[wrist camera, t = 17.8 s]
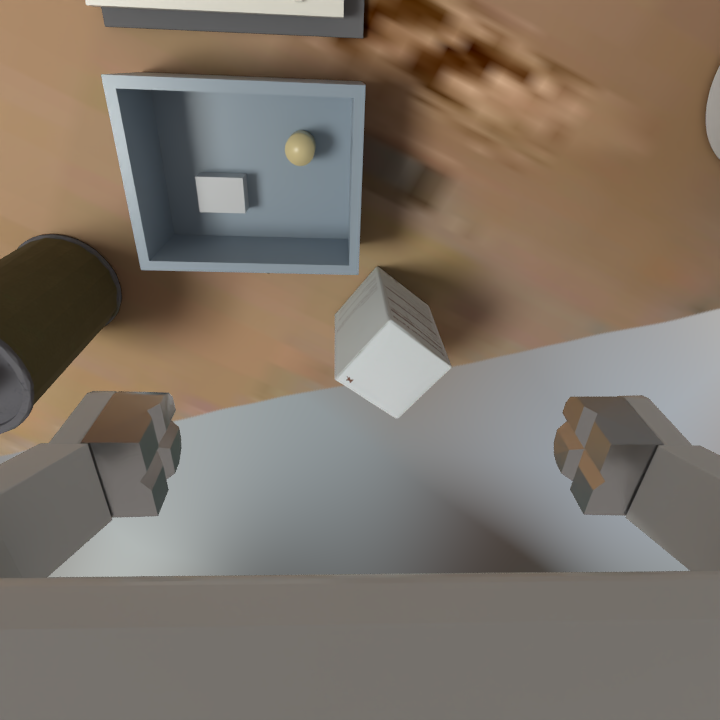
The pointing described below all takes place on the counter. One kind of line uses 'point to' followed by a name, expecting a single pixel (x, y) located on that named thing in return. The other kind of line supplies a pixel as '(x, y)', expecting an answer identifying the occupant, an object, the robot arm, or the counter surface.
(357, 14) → the mat
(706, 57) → the counter surface
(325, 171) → the grey storage box
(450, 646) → the robot arm
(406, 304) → the supplement box
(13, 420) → the canister
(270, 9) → the lid
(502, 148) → the counter surface
